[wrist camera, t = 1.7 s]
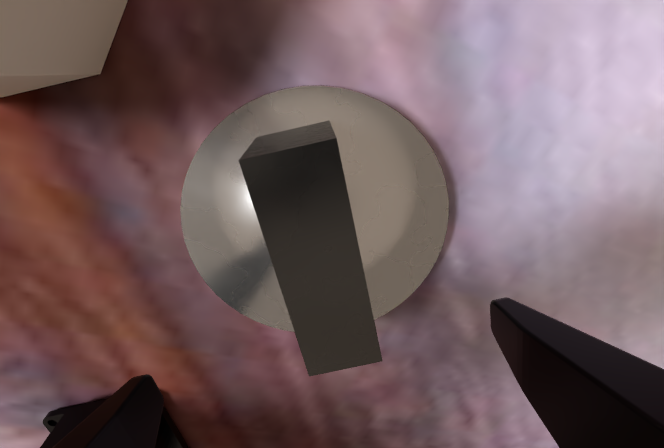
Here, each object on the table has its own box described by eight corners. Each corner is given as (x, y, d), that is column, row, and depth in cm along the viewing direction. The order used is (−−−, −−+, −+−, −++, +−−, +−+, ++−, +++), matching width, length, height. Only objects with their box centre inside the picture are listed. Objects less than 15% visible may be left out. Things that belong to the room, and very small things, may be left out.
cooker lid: (450, 294, 19) (494, 365, 15) (236, 340, 19) (213, 423, 15) (428, 54, 14) (485, 47, 10) (143, 120, 15) (68, 144, 10)
